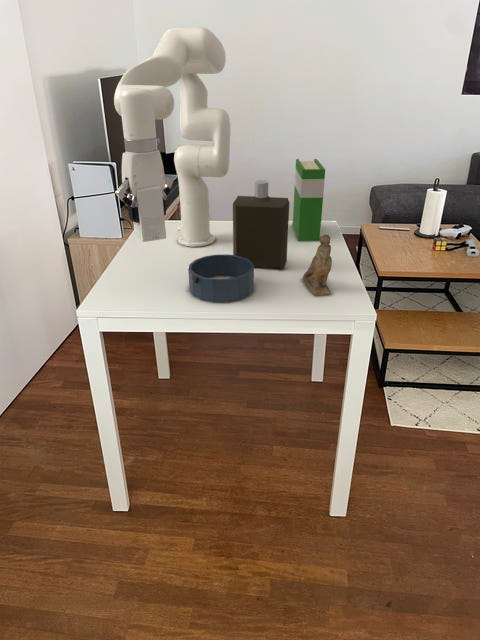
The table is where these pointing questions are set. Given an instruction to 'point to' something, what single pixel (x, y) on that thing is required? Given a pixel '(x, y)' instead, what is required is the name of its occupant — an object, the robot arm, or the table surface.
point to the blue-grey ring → (221, 288)
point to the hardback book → (308, 199)
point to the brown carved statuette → (319, 269)
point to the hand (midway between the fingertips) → (148, 217)
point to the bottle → (261, 228)
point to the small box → (150, 215)
